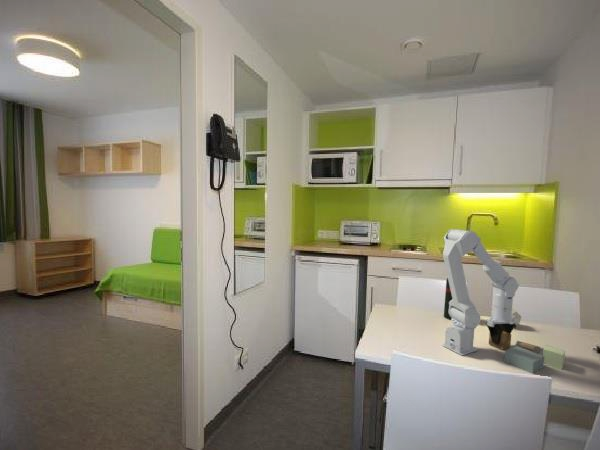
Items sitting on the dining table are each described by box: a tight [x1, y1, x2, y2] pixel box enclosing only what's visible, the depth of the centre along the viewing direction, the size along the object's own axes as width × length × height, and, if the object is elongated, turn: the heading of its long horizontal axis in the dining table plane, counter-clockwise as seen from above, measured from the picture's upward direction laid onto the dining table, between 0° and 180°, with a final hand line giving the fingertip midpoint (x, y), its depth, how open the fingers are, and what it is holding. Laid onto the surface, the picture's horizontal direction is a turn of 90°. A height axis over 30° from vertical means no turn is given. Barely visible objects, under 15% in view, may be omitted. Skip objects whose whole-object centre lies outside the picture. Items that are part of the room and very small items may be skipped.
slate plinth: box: [504, 345, 545, 374], centre depth 98 cm, size 8×8×4 cm
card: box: [514, 340, 541, 355], centre depth 110 cm, size 7×7×1 cm
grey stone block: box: [512, 307, 522, 327], centre depth 130 cm, size 8×9×10 cm
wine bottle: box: [443, 277, 452, 321], centre depth 136 cm, size 8×10×30 cm
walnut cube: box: [488, 331, 512, 351], centre depth 110 cm, size 5×5×5 cm
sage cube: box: [542, 344, 566, 370], centre depth 99 cm, size 5×5×5 cm
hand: (499, 341), depth 110 cm, fingers closed on walnut cube, 5 cm apart
